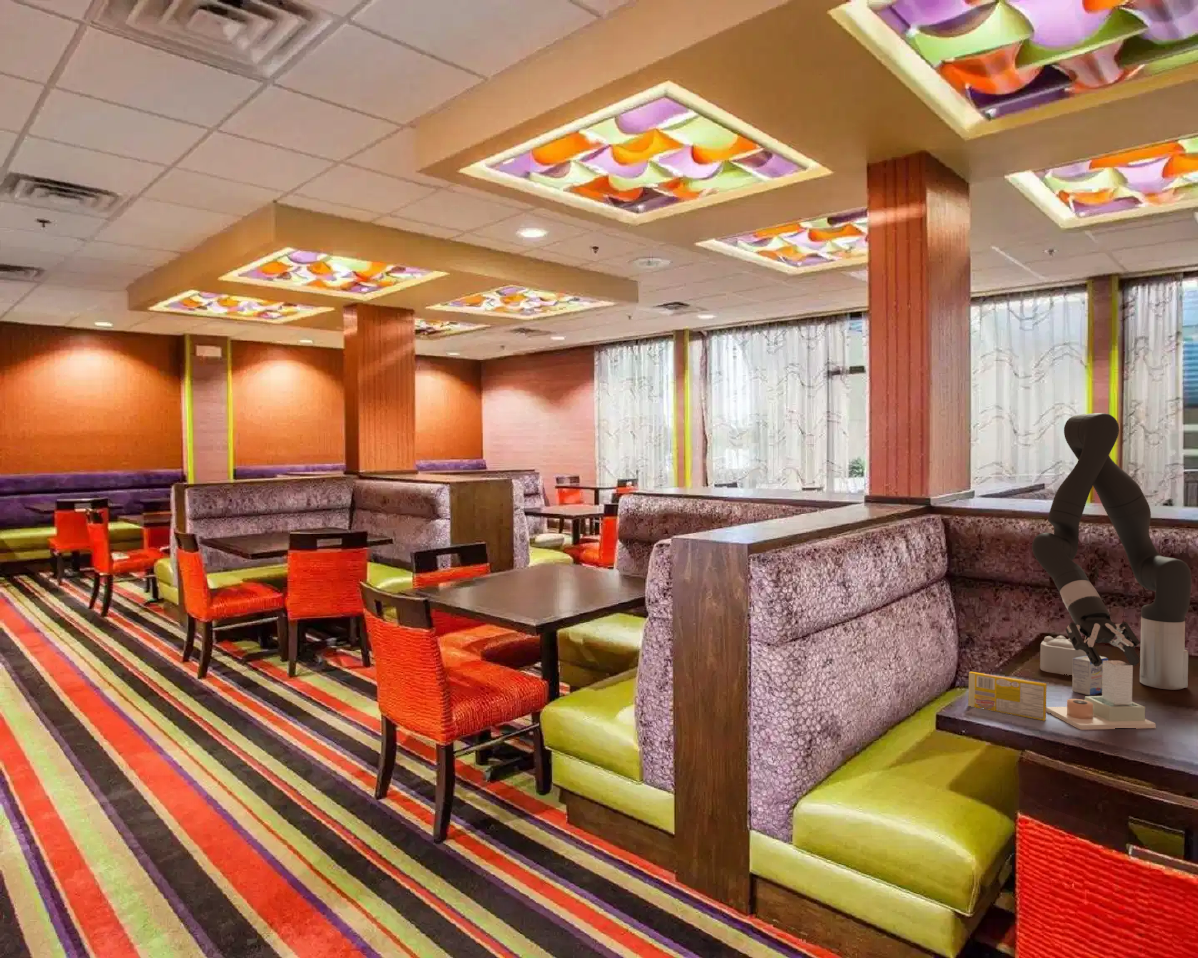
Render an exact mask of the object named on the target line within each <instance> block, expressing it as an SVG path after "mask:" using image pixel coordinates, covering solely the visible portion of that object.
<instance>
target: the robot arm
mask: <svg viewBox="0 0 1198 958" xmlns="http://www.w3.org/2000/svg"><path fill="white" fill-rule="evenodd" d="M1119 432H1120V426H1119V422H1118V421H1117V419H1116V418H1115V417H1114V416H1113V415H1111V414H1110V413H1106V412H1094V413H1083V414H1077V415H1073V416H1071V417H1069V418H1068V419H1067V420H1066V422H1065V424H1064V428H1063V434H1064V439H1065V441H1066V443H1067V445H1068V447H1069V448H1070V450H1071V452H1072V453H1073V455H1074V456H1075V457H1076V459H1077V460H1078V461H1077V462H1076V464H1075V465H1074V467H1073V468H1072V470H1071V472H1070V473H1069V474H1068V475H1067V477H1066V478H1065V479H1064V480H1063V482H1061V484H1060V485H1059V487H1058V488H1057V490H1056V491H1055V494H1054V497H1053V500H1052V504H1051V507H1050V510H1049V512H1048V516H1047V520H1048V522H1049V524H1050V525H1052V526H1053V533H1052V532H1051V533H1050V532H1042V533H1039V534H1037V535H1036V536H1035V537H1034V538H1033V540H1032V543H1031V550H1032V553H1033V556H1034V558H1035V559H1036V561H1037V562H1038V564H1039V565H1040V566H1041V567H1042V569H1044V571H1045V572H1046V573H1047V574H1048V575H1049V576H1050V577H1051V579H1052V580H1053V583H1054V585H1055V586H1056V588H1057V590H1058V592H1059V594H1060V597H1061V599H1062V602H1063V604H1064V606H1065V608H1066V609H1067V612H1068V614H1069V615H1070V617H1071V619H1072V621H1073V622H1070V623H1069V624H1068V625H1067V627H1066V628H1065V632H1066V633H1067V635H1068V639H1069V638H1070V640H1071V643H1072V645H1073V647H1074V649H1075V650H1079V649H1080V650H1083V651H1084V652H1086V656H1088V658H1089V660H1090V662H1091V663H1092V664H1094V666H1100V665H1101V664H1102V660H1101V658H1100V656H1101V655H1100V654H1099V653H1098V652H1099V651H1097V649H1096V647H1094V645H1095V644H1101V643H1103V644H1110V645H1111V646H1113V647H1117V648H1119V649H1120V650H1121V651H1123V654H1124V655H1125V658H1126V660H1127V661H1128V664H1130V665H1133V667H1135V666H1137V665H1138V664H1139V665H1140V666H1139V683H1141V684H1142V685H1144V686H1147V687H1151V688H1156V689H1163V690H1171V691H1172V690H1173V691H1174V690H1175V691H1177V690H1182V689H1184V688H1188V686H1189V685H1188V681H1189V679H1188V675H1189V650H1187V649H1185V648H1186V647H1185V645H1186V642H1185V640H1186V616H1187V613H1188V612H1189V609H1190V603H1191V592H1192V591H1191V590H1192V573H1191V570H1190V569H1191V568H1190V567H1189V565H1188V563H1186V562H1185V561H1183V560H1182V559H1178V558H1174V557H1168V556H1162V555H1161V554H1160V553H1159V552H1158V550H1157V549H1156V547H1155V544H1154V543H1153V542H1152V538H1151V537H1150V525H1151V520H1152V519H1151V517H1152V512H1151V511H1152V510H1151V507H1150V505H1149V502H1148V500H1147V498H1146V496H1145V494H1144V493H1143V491H1142V490H1143V489H1141V487H1140V485H1139V484H1138V483H1137V482H1136V481H1135V479H1134V478H1133V477H1132V476H1130V475H1129V474H1128V473H1127V472H1125V471H1124V470H1123V469H1122V468H1121V467H1120V466H1119V465H1117V463H1116V462H1114V460H1113V459H1112V458H1111V456H1110V454H1111V452H1112V450H1113V448H1114V446H1115V444H1116V442H1117V440H1118V437H1119ZM1092 488H1093V489H1094V490H1095V492H1096V494H1097V496H1098V498H1099V501H1100V503H1101V505H1102V507H1103V509H1104V510H1105V512H1106V513H1105V514H1106V515H1107V517H1108V518H1109V520H1110V522H1111V524H1112V526H1113V528H1114V530H1115V531H1116V532H1115V533H1116V534H1117V536H1118V538H1119V540H1120V542H1121V545H1122V547H1123V549H1124V552H1125V554H1126V556H1127V559H1128V562H1129V565H1130V566H1129V567H1130V568H1131V571H1132V574H1133V576H1134V578H1135V579H1136V581H1137V583H1138V584H1139V585H1140V586H1141V587H1143V588H1144V589H1147V590H1149V591H1153V592H1155V595H1154V600H1153V602H1151V603H1149V604H1144V605H1142V606H1141V610H1140V641H1139V639H1138V637H1137V636H1136V634H1135V632H1134V631H1133V630H1132V628H1131V626H1130V625H1129V623H1128V622H1126V621H1122V622H1121V623H1116V624H1115V623H1114V622H1113V621H1112V620H1111V615H1110V612H1109V610H1108V609H1107V606H1106V604H1105V603H1104V601H1103V600H1102V598H1101V596H1100V594H1099V593H1098V591H1097V589H1096V588H1095V587H1094V586H1093V584H1092V583H1091V581H1090V580H1089V578H1088V576H1087V574H1086V572H1085V571H1084V569H1083V568H1082V567H1081V565H1079V564H1078V563H1076V562H1075V561H1074V559H1075V558H1076V556H1077V553H1078V550H1079V537H1080V522H1081V520H1082V517H1083V514H1084V510H1085V509H1086V508H1085V507H1086V504H1087V501H1088V499H1089V496H1090V494H1091V491H1092ZM1081 634H1082V635H1083V636H1085V637H1084V639H1083V637H1082V635H1081ZM1116 637H1117V638H1116ZM1115 638H1116V639H1115ZM1139 644H1140V648H1139V649H1140V653H1139V656H1140V657H1139V656H1138V654H1137V652H1136V650H1135V649H1136V647H1137V646H1139Z"/></svg>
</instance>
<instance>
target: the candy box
mask: <svg viewBox="0 0 1198 958" xmlns="http://www.w3.org/2000/svg"><path fill="white" fill-rule="evenodd" d="M1047 687H1048V686H1047V683H1046V682H1045V683H1044V682H1040V681H1039V682H1038V681H1033V680H1026V679H1020V678H1013V677H1008V676H1007V677H1006V676H1000V675H994V674H988V673H982V672H975V671H969V672H968V699H967V700H968V702H967V706H968V707H969V706H971V707H970V708H975V707H976V708H975V709H980V708H984V709H983V710H985V709H987V710H986V711H990V710H991V712H997V713H1001V714H1006V713H1007V715H1011V714H1012V716H1016V717H1022V718H1027V719H1032V718H1033V720H1038V721H1043V722H1045V721H1046V720H1047V712H1046V707H1047Z"/></svg>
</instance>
